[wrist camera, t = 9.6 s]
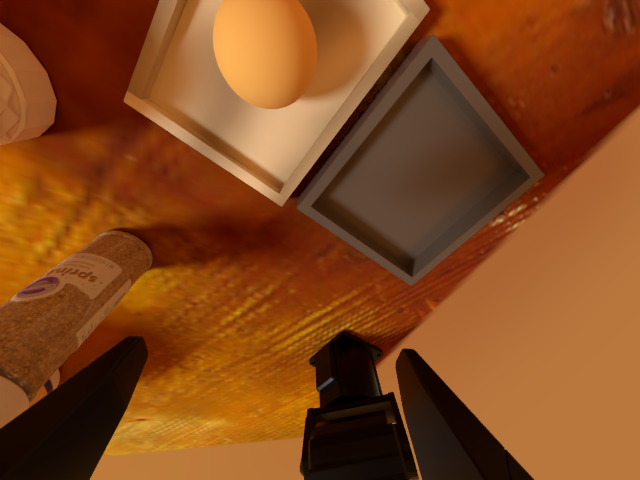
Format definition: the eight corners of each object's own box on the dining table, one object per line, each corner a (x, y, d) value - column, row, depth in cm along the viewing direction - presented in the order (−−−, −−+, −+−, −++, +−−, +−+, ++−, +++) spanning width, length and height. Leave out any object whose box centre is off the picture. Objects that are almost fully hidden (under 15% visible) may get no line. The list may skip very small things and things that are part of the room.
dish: (521, 167, 19) (544, 175, 17) (403, 270, 24) (411, 286, 22) (417, 41, 15) (433, 33, 13) (297, 197, 20) (296, 208, 18)
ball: (331, 49, 15) (346, 32, 10) (283, 124, 16) (278, 135, 12) (256, -26, 13) (236, -86, 9) (211, 67, 15) (176, 56, 10)
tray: (419, 16, 14) (430, 9, 13) (283, 199, 20) (281, 206, 18) (251, -197, 11) (244, -237, 9) (137, 100, 16) (123, 101, 15)
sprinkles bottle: (132, 221, 20) (-104, 399, 8) (165, 265, 22) (16, 452, 11) (82, 237, 20) (-205, 425, 9) (120, 278, 23) (-70, 471, 11)
